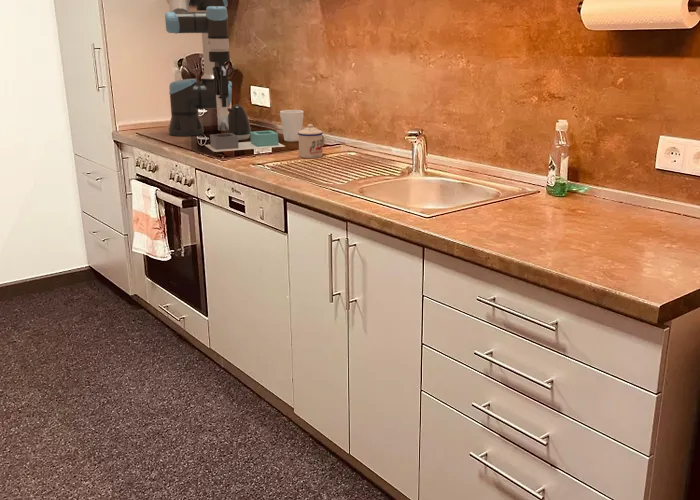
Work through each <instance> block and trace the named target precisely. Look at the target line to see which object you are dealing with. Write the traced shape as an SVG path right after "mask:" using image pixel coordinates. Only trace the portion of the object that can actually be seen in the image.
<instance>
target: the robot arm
mask: <svg viewBox="0 0 700 500" xmlns="http://www.w3.org/2000/svg"><path fill="white" fill-rule="evenodd" d="M166 2H167V4H168V6H169V7H168V8H169V11H167V12H165V13H164V18H165V19H164V20H165V21H164V22H165V30H166V33H169V34H176V35H177V34H201V40H202V41H201V42H202V43H201V44H202V54H203V55H202V57H203V70H204V71H203V74H202V75H201V76H200V77H201V78H200V79H201V81H197V79H196V78H184V79H179V80H175V81H172V82H170V83H169V93H168V94H169V101H170V103H169V104H170V113H171V117H170V122H169V127H168V135H169V136H176V137H193V136H201V135H203V134H204V133H205V131H204V126H203V124H202V121H201V119H200V115H199V110H211V109H212V110H213V109H216V110H217V102H216V95H220V97H218V98H219V99H220V116H228V114H229V112H228V108H230V106H231V102H232V96H233V94H232V93H233V88H232V87H233V82H232V81H230V80H229V70H228V68H227V67H226V64H225V63H228V62H230V61H231V60H230V59H231V57H230V55H231V54H230V38H229V22H228V17H229V15H228V9H227V7H228V5H229V4H228V0H166ZM190 7H193V8H196V11H190ZM228 50H229V51H228Z"/></svg>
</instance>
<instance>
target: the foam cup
mask: <svg viewBox="0 0 700 500" xmlns="http://www.w3.org/2000/svg"><path fill="white" fill-rule="evenodd" d="M304 113H305V112H304V110H301V109H283V110H280V111H279V116H280V117H279V118H280V120H281V128H282V134H283V139H284V141H286V142H299V135H298V132H299V131H300V130H303V124H304V123H303V122H304V121H303V120H304Z"/></svg>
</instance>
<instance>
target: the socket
mask: <svg viewBox="0 0 700 500" xmlns="http://www.w3.org/2000/svg"><path fill="white" fill-rule="evenodd" d="M250 142H251V144H253V145H255V146H257V147H260V146H273V145H279V144H278V143H279V133H278V132H275V131H273V130H259V131H257V130H256V131H251V132H250Z"/></svg>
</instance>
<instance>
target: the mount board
mask: <svg viewBox="0 0 700 500" xmlns="http://www.w3.org/2000/svg"><path fill="white" fill-rule="evenodd" d="M209 138H210V139H209V140H210V144H204V146H205V147H206V148H208V149H209V150H211V151H212V152H213V153H215V152H216V153H217V152H218V153H219V152H228V151H229V152H230V151H232V152H233V151H243V150H257V149H270V148H281V147H282V148H284V147H286V145H284V144H281V143H280V142H278V144H279V145H273V146H260V147H257V146H255V145H253V144H251V141H241V142H239V140H238V136H236V135H235V134H233V133H226V132H225V133H216V134H215V133H214V134H209Z"/></svg>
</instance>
